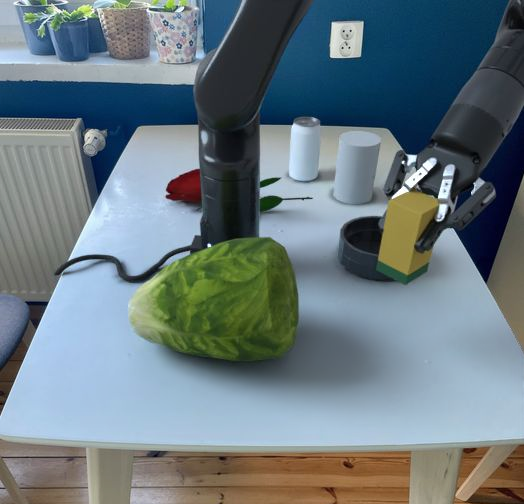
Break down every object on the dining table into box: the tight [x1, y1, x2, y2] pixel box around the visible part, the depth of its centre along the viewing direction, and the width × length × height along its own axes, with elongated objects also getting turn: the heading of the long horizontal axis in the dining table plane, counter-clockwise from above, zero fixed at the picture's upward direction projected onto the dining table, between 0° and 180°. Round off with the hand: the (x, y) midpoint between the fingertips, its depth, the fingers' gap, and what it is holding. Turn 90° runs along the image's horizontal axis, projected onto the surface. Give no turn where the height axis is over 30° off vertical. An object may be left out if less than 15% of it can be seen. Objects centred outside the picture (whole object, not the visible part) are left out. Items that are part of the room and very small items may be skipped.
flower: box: [164, 168, 314, 213], centre depth 106 cm, size 9×9×30 cm
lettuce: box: [127, 236, 300, 362], centre depth 73 cm, size 17×23×16 cm
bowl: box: [337, 215, 394, 282], centre depth 94 cm, size 14×14×5 cm
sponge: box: [376, 190, 440, 286], centre depth 68 cm, size 5×5×10 cm
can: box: [288, 116, 322, 183], centre depth 117 cm, size 6×6×12 cm
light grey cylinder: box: [333, 130, 382, 205], centre depth 110 cm, size 8×8×12 cm
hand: (400, 241), depth 67 cm, fingers closed on sponge, 4 cm apart
